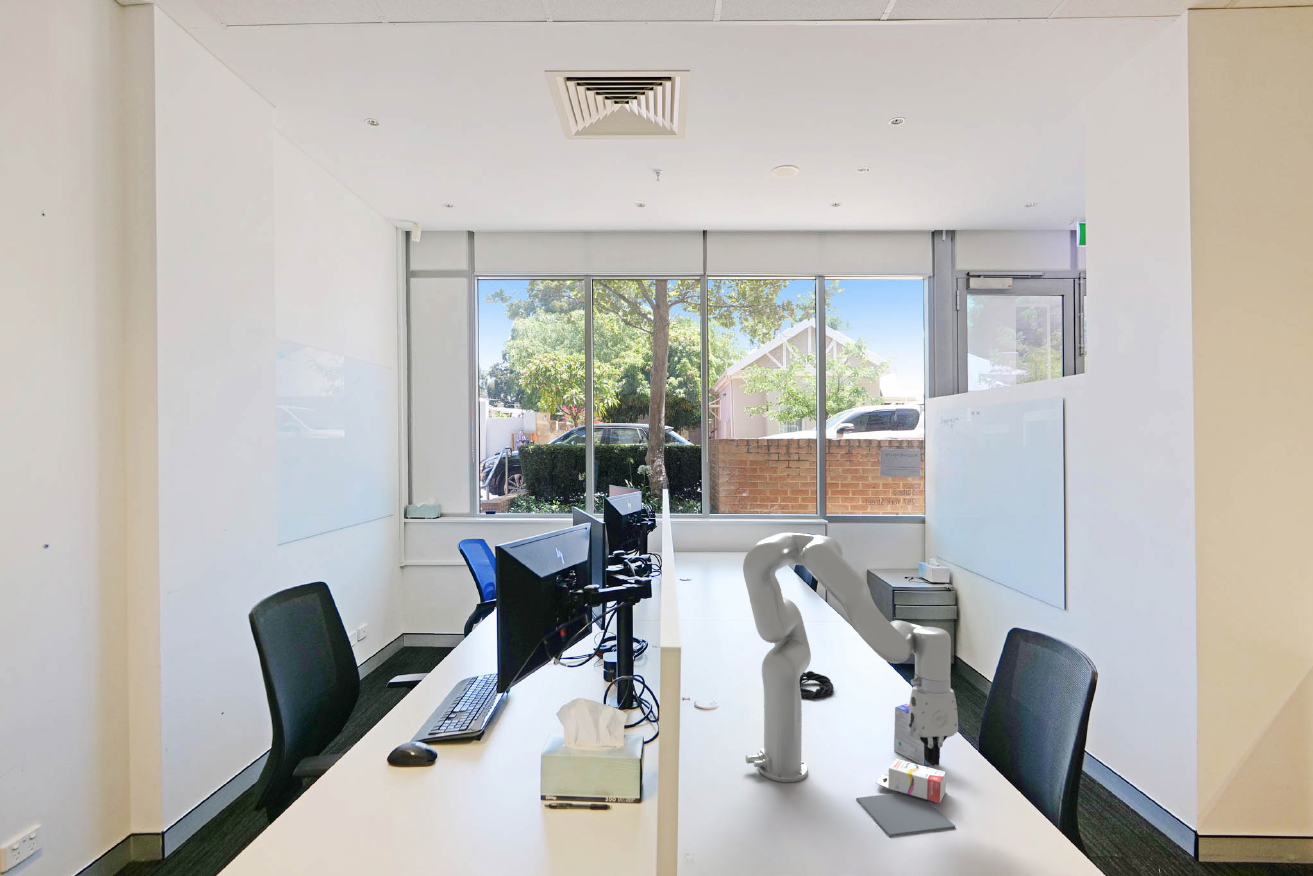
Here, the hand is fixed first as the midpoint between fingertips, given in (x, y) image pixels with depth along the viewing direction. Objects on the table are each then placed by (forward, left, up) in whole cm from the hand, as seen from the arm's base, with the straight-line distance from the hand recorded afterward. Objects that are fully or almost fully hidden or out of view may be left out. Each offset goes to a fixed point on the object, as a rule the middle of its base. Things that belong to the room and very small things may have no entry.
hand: (931, 762), depth 146 cm
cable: (+3, +70, -12) cm, 71 cm away
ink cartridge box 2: (+6, +3, -8) cm, 10 cm away
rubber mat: (-7, 0, -11) cm, 13 cm away
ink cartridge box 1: (+11, +23, -11) cm, 28 cm away
